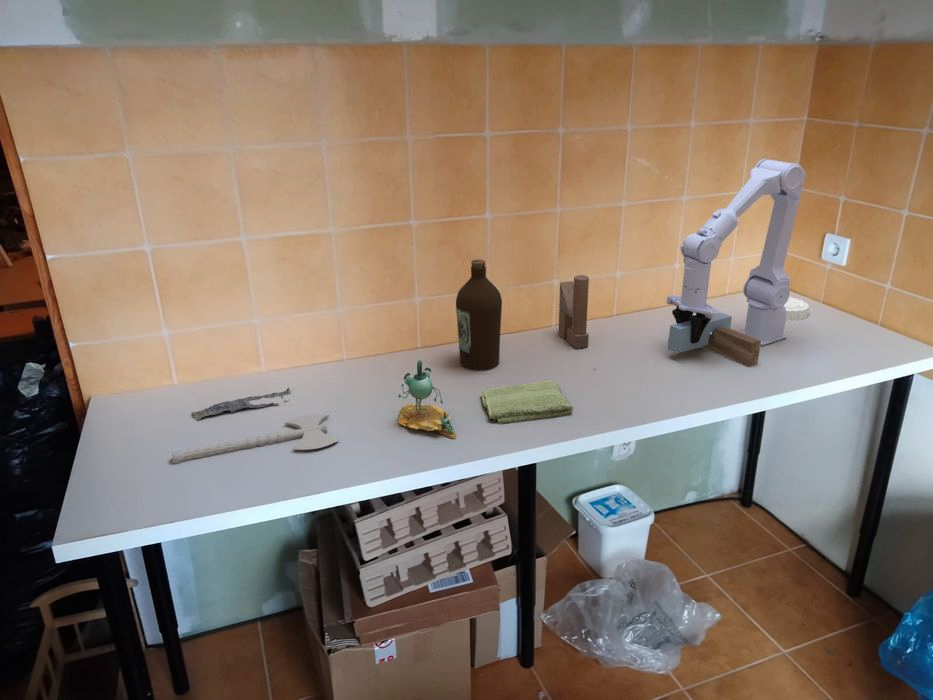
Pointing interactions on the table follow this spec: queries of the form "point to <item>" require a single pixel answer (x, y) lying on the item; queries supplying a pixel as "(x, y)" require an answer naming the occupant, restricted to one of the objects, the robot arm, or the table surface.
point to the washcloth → (526, 402)
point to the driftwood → (237, 404)
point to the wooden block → (574, 311)
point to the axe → (271, 439)
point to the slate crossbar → (682, 334)
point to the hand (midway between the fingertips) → (689, 339)
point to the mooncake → (796, 309)
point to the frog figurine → (423, 406)
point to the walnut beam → (734, 346)
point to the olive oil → (479, 320)
